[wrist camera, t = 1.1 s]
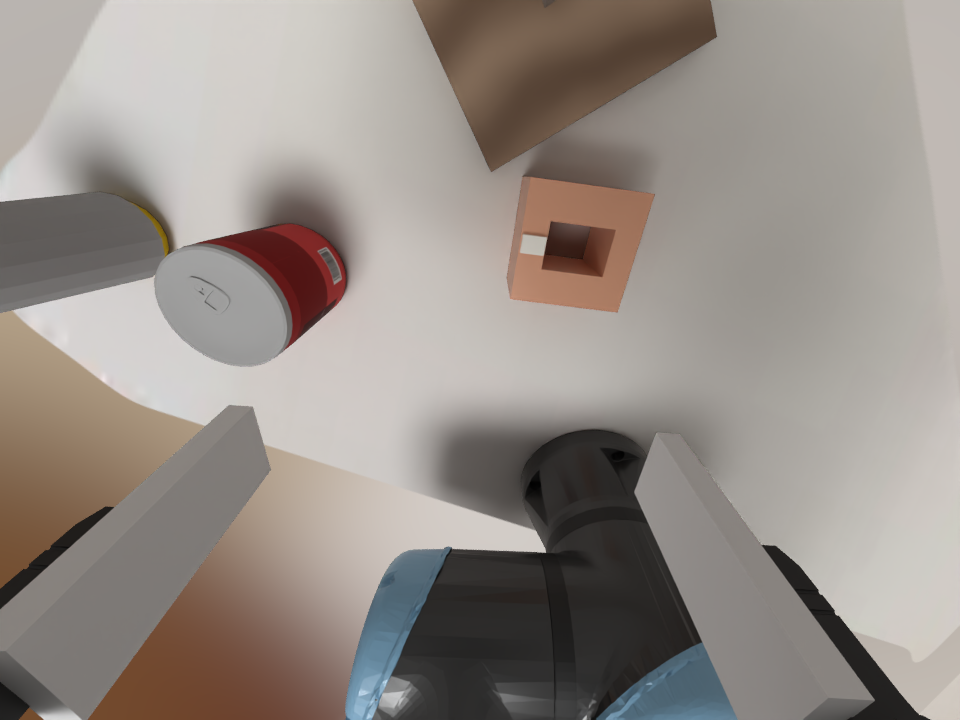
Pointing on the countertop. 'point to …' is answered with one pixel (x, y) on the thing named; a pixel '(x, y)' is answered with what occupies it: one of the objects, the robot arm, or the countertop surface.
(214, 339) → the canned food
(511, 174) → the countertop surface
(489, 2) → the base plate
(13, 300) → the soap bottle
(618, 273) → the orange open box
